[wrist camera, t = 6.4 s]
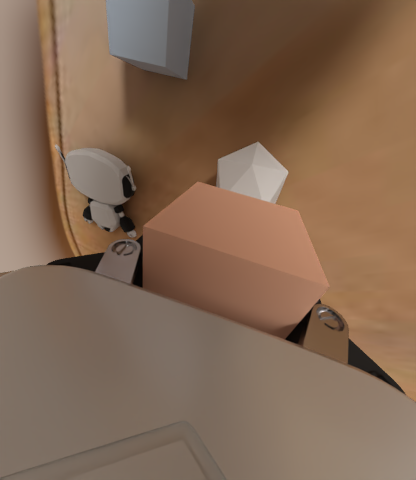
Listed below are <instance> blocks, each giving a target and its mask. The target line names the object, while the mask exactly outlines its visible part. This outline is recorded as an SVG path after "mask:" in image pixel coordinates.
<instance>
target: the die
mask: <svg viewBox="0 0 416 480" xmlns="http://www.w3.org/2000/svg"><path fill="white" fill-rule="evenodd" d="M287 175H288V171H287V170H286V169H285V168H284V167H283V166H282V165H281V164H280V163H279V162H278V161H277V160H276V159H275V158H274V157H273V156H272V155H271V154H270V153H269V152H268V151H267V150H266V149H265V148H264V147H263V146H262V145H261V144H260V143H259V142H256V143H254V144H252V145H249V146H247V147H245V148H243V149H240V150H238V151H236V152H233V153H231V154H229V155H227V156H224V157H222V158H220V159H218V167H217V181H216V187H219V188H222V189H225V190H229V191H232V192H236V193H239V194H243V195H246V196H250V197H253V198H256V199H260V200H263V201H267V202H270V203H274V204H275V203H276V201H277V198H278V196H279V194H280V191H281V189H282V186H283V184H284V182H285V179H286V177H287Z"/></svg>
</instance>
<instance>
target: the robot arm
mask: <svg viewBox="0 0 416 480" xmlns="http://www.w3.org/2000/svg"><path fill="white" fill-rule="evenodd" d="M0 480H416V402H415V401H414V400H412V399H411V398H409V397H408V396H406V394H405V393H404V391H403V390H402V389H401V387H400V386H399V385H398V384H397V383H396V382H395V381H394V380H393V379H392V378H391V377H390V376H389V375H388V374H387V373H385V372H384V371H383V370H382V369H381V368H380V367H379V366H378V365H377V364H376V363H375V362H374V361H373V360H371V359H370V358H369V357H368V356H367V355H366V354H365V353H364V352H363V351H362V350H361V349H360V348H359V347H358V346H356V345H355V344H354V343H353V342H352V341H351V340H350V339H349V328H348V324H347V322H346V321H345V319H344V318H343V317H342V316H341V315H340V314H339V313H338V312H337V311H336V310H334V309H333V308H331V307H329V306H327V305H324V304H321V301H320V299H319V300H318V301H317V302H316V304H315V305H314V306H313V307H312V308H311V309H310V311H309V312H308V313H307V314H306V315H305V316H304V318H303V319H302V320H301V321H300V322H299V323H298V325H297V326H296V327H295V328H294V329H293V330H292V332H291V333H290V334H289V335H288V336H287V337H286V339H282V338H279V337H276V336H274V335H271V334H268V333H266V332H263V331H260V330H257V329H255V328H252V327H249V326H247V325H244V324H241V323H238V322H236V321H233V320H230V319H227V318H225V317H222V316H219V315H216V314H214V313H211V312H208V311H205V310H203V309H200V308H197V307H194V306H192V305H189V304H186V303H183V302H181V301H178V300H175V299H172V298H169V297H167V296H164V295H161V294H158V293H155V292H153V291H150V290H147V289H144V288H143V235H142V236H141V237H140V238H139V239H138V240H136V241H134V240H130V239H121V240H117V241H114V242H113V243H111V244H110V245H109V246H108V248H107V250H106V252H104V253H97V254H91V255H84V256H78V257H71V258H65V259H60V260H55V261H53V262H51V263H48V264H47V265H38V266H30V267H25V268H21V269H18V270H15V271H10V272H3V273H0Z"/></svg>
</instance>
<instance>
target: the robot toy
mask: <svg viewBox="0 0 416 480" xmlns="http://www.w3.org/2000/svg"><path fill="white" fill-rule="evenodd" d="M55 148H56V149H57V151H58V152H59V154H60V156H61V157H62V159H63V161H64V163H65V165H66V168H67V171H68V175H69V178H70V180H71V183H72V184H73V185H74V186H75V188H76V189H77V190H78V191H80V192H81V193H83V194H84V195H86V196H88V197H89V198H88V203H89V204H90V205H89V206H88V207H86V208H85V209H84V212H83V217H84V220H85V221H86V222H87V221H88V223H89V224H91V223H92V222H93V220H94V221H95V222H96V223H97V224H98V226H99V227H100V228H101V229H102V230H103V229H105V230H106V231H108V232H113V231H114V230H115V229H117V228H118V227H119V226H121V228H122V229H123V231H124V232H127V235H128V236H129V237H136V235H137V234H136V232H135V231H134V230H133V229H134V228H135V226H134V224H133V222H132V220H131V219H130V218H128V217H127V216H125V215H124V213H123V211H124V208H123V206H122V203H124V202H126V201H127V200H129V199H130V198H131V196H133V195H134V192H135V190H136V186H135V185H134V180H133V176H132V174H131V169H130V167H129V166H126V165H125V164H124V162H123V161H121V160H120V159H119V158H117V157H115V156H114V155H112V154H110V153H108V152H106V151H103V150H101V149H96V148H82V149H77V150H73V151H70V152H69V153H68V154H67V156H66V159H65V158H64V156H63V154H62V152H61V151H60V148H59V146H57V145H55Z"/></svg>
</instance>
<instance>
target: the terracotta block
mask: <svg viewBox="0 0 416 480" xmlns="http://www.w3.org/2000/svg"><path fill="white" fill-rule="evenodd" d="M143 288H144V289H147V290H150V291H153V292H155V293H158V294H161V295H164V296H167V297H169V298H172V299H175V300H178V301H181V302H183V303H186V304H189V305H192V306H194V307H197V308H200V309H203V310H205V311H208V312H211V313H214V314H216V315H219V316H222V317H225V318H227V319H230V320H233V321H236V322H238V323H241V324H244V325H247V326H249V327H252V328H255V329H257V330H260V331H263V332H266V333H268V334H271V335H274V336H276V337H279V338H282V339H286V337H287V336H288V335H289V334H290V333H291V332H292V330H293V329H294V328H295V327H296V326H297V325H298V323H299V322H300V321H301V320H302V319H303V318H304V316H305V315H306V314H307V313H308V312H309V311H310V309H311V308H312V307H313V306H314V305H315V304H316V302H317V301H318V300H319V299H320V298H321V297H322V295H323V294H324V293H325V292H326V291H327V290H328V288H329V284H328V282H327V279H326V277H325V274H324V272H323V270H322V267H321V265H320V262H319V260H318V258H317V255H316V253H315V250H314V248H313V245H312V243H311V241H310V238H309V236H308V233H307V231H306V229H305V226H304V224H303V221H302V219H301V216H300V214H299V212H298V210H294V209H291V208H287V207H284V206H281V205H277V204H274V203H270V202H267V201H263V200H260V199H256V198H253V197H250V196H246V195H243V194H239V193H236V192H232V191H229V190H225V189H222V188H219V187H215V186H212V185H208V184H205V183H201V182H197V183H195V184H194V185H193V186H192V187H190V188H189V189H188V190H187V191H185V192H184V193H183V194H182V195H181V196H179V197H178V198H177V199H176V200H174V201H173V202H172V203H171V204H169V205H168V206H167V207H166V208H165V209H163V210H162V211H161V212H160V213H158V214H157V215H156V216H155V217H153V218H152V219H151V220H150V221H149V222H147V223H146V224H145V225H144V226H143Z"/></svg>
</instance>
